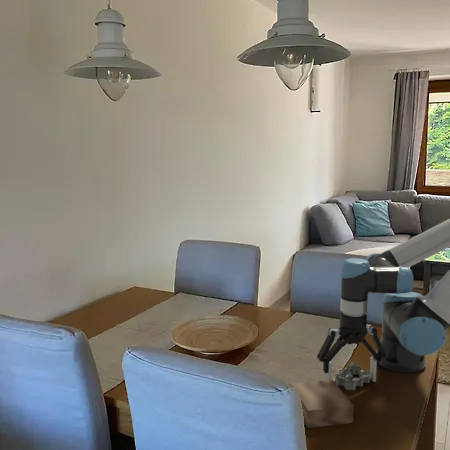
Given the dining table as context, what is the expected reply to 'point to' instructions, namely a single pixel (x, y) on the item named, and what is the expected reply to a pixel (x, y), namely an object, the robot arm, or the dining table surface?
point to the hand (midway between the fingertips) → (350, 381)
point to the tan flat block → (324, 404)
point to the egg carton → (349, 381)
